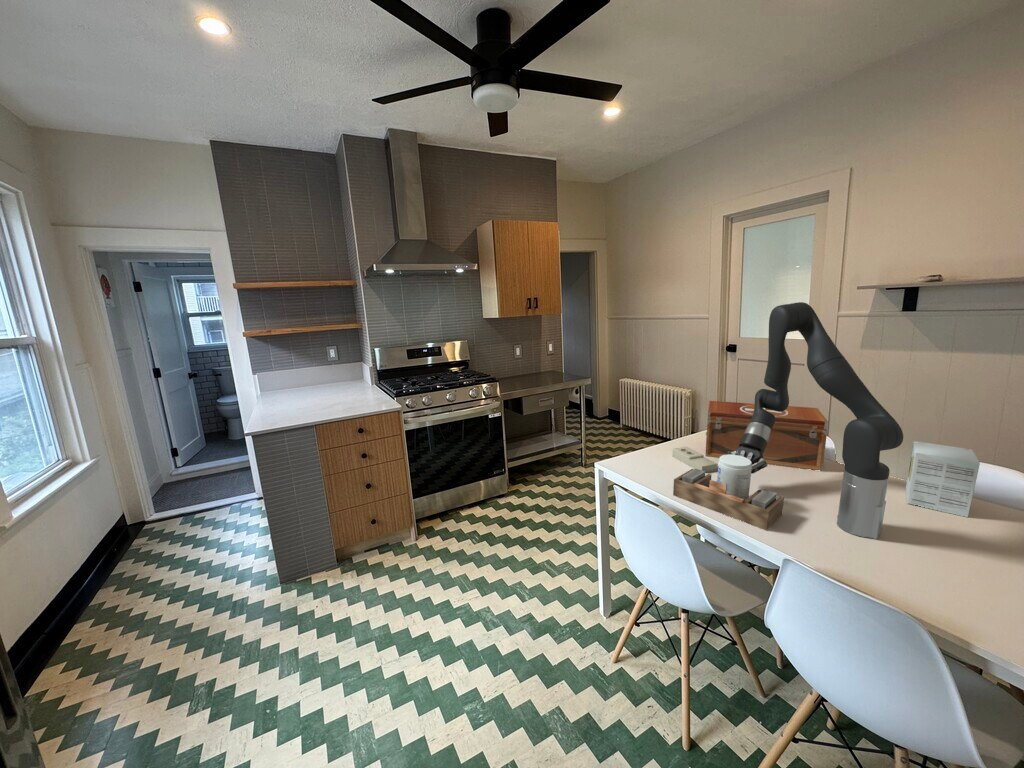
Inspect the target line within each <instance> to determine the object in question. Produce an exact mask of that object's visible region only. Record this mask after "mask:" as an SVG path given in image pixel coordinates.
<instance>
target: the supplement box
mask: <svg viewBox="0 0 1024 768" xmlns="http://www.w3.org/2000/svg"><path fill="white" fill-rule="evenodd" d="M911 447H912V448H911V455H910V461H909V466H908V471H907V472H908V473H907V477H906V485H905V499H906V498H907V500H906V504H907V503H910V504H914V505H913V506H915V505H918V506H917V507H919V506H921V508H924V507H925V508H924V509H928V508H930V509H929V510H932V509H934V510H933V511H937V510H938V511H937V512H941V511H942V512H941V513H946V514H950V513H951V515H955V514H956V516H959V515H961V516H960V517H963V516H965V517H964V518H969V514H970V511H971V505H972V500H973V496H974V491H975V488H976V484H977V480H978V479H977V478H978V474H979V469H980V465H981V463H980V461H979V458H978V457H977V455H976V453H975V451H974V450H973V449H971V448H965V447H959V446H958V447H957V446H952V445H945V444H944V445H943V444H938V443H930V442H924V441H916V440H913V442H912V446H911ZM910 504H909V505H910Z"/></svg>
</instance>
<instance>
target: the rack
mask: <svg viewBox="0 0 1024 768" xmlns="http://www.w3.org/2000/svg"><path fill="white" fill-rule="evenodd" d="M672 487H673V490H672V491H673V494H672V495H673V496H674V497H676V498H679V499H682V500H685V501H688V502H690V503H693V504H695V505H697V506H700V507H703V508H706V509H709V510H711V511H714V512H716V513H719V514H721V513H722V515H724V514H725V516H727V517H729V516H730V517H729V518H732V517H733V518H732V519H735V520H737V519H738V520H737V521H740V520H741V521H740V522H743V521H744V522H743V523H745V522H746V524H748V525H750V524H751V525H750V526H753V527H756V528H758V529H761V530H764V531H768V529H770V528H771V527H772V526H773V524H775V523H776V522H777V521H778V520H779V519H780V518H781V517H782V516H783V512H784V511H783V510H784V501H785V496H779V497H778V498H777V495H778V494H777V492H773V491H770V490H768V489H758V490H756V491H755V492H754V493H752V494H751V495H749V498H748V499H746V500H745V501H744V499H742V498H739V497H736V496H733V495H730V494H727V493H726V491H727V485H725V484H722V483H719V482H717V480H716V481H715V480H713V479H712V474H711V473H708V474H706V472H705V471H702V470H699V469H696V468H695V469H694V468H691V469H689V470H688V471H685V472H684V473H682V474H680V475H679V476H677V477H675V478H674V479H673V486H672Z"/></svg>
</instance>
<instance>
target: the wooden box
mask: <svg viewBox="0 0 1024 768" xmlns="http://www.w3.org/2000/svg"><path fill="white" fill-rule="evenodd" d="M754 407H755V403H748V402H735V401H722V400H721V401H719V400H709V403H708V409H707V410H708V411H707V422H706V432H705V436H706V439H705V454H704V455H705V456H704V457H706V458H716V459H719V458H720V456H722V455H728V453H727V452H728V451H730V452H734V451H735V450H736V449H737V448H738V447H739V444H740V442H741V440H742V437H743V435H744V433H745V430H746V428H747V427H748V425H749V423H750V421H751V418H752V416H753V413H754ZM763 409H764V410H766V411H768V412H770V413H772V414H773V415H774V416H775V418H776V420H775V423H774V425H773V428H772V430H771V434H770V437H769V441H768V442H767V445H766V447H765V450H764V452H763V460H765V461H766V462H767V465H770V466H776V467H785V468H793V469H799V468H800V469H801V470H807V469H811V470H810V471H815V470H820V471H819V472H823V468H824V460H825V451H826V444H827V443H826V442H827V435H828V428H829V427H828V426H829V421H828V419H827V418H826V417H825V416H824V414H823V413H822V412H821V410H820V409H819V408H818V407H808V406H794V405H793V406H791V405H788V407H787V409H786V410H784V411H782V412H778V411H773V410H770V409H765V408H763ZM736 455H737V454H736ZM757 463H758V462H757ZM757 463H756V464H757Z"/></svg>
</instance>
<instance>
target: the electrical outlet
mask: <svg viewBox="0 0 1024 768" xmlns="http://www.w3.org/2000/svg"><path fill="white" fill-rule="evenodd" d="M671 453H672V455H671V457H672V458H674V459H675V460H677V461H679V462H680V463H681V462H682V463H683V464H685V465H687V466H689V467H690V468H691V469H695V468H696V469H699V470H702V471H705V473H710V472H716V471H718V463H717V462H715V461H713V460H711V459H709V458H708V457H706V456H704V455H705V454H703V453H700V452H698V451H696V450H695V449H692V448H691V447H688V446H681V447H680V446H679V447H675V448H672V452H671Z"/></svg>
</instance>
